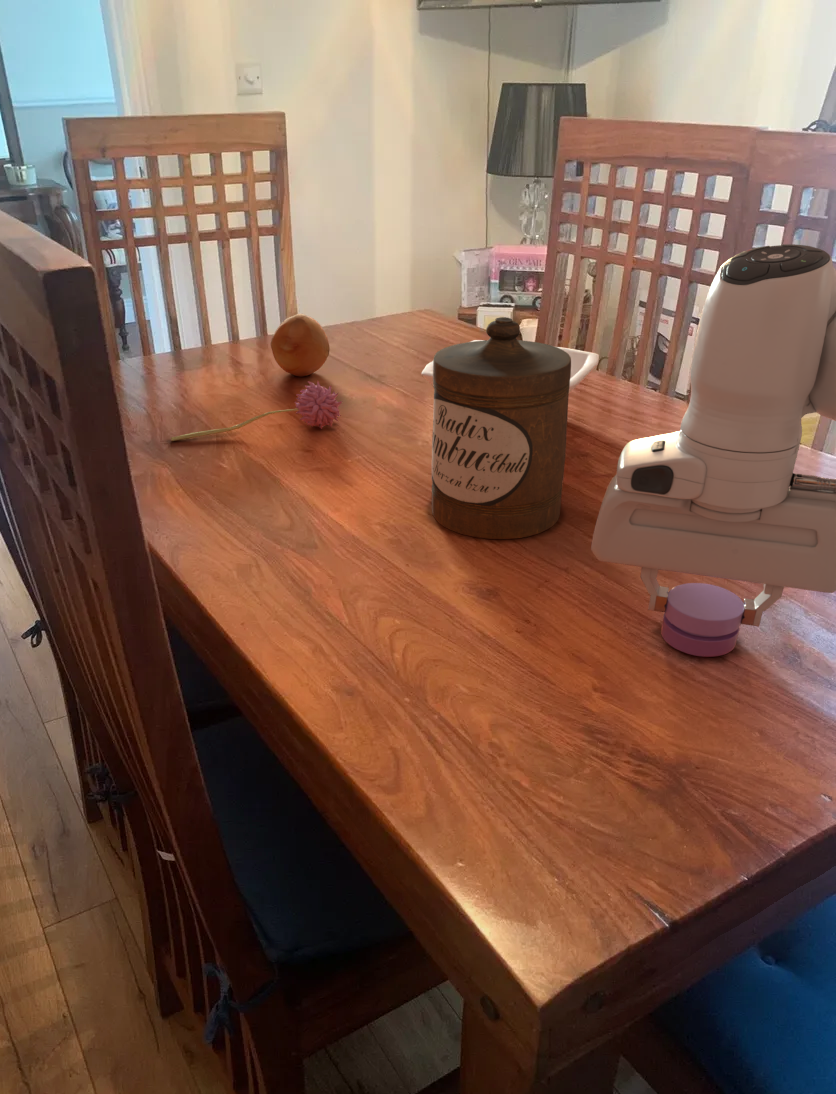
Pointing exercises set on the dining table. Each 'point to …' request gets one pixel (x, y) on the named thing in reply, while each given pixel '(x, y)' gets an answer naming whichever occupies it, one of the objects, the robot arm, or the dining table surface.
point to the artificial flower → (312, 406)
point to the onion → (300, 345)
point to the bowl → (579, 366)
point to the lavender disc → (704, 609)
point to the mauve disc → (697, 641)
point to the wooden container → (499, 434)
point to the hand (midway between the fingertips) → (701, 615)
